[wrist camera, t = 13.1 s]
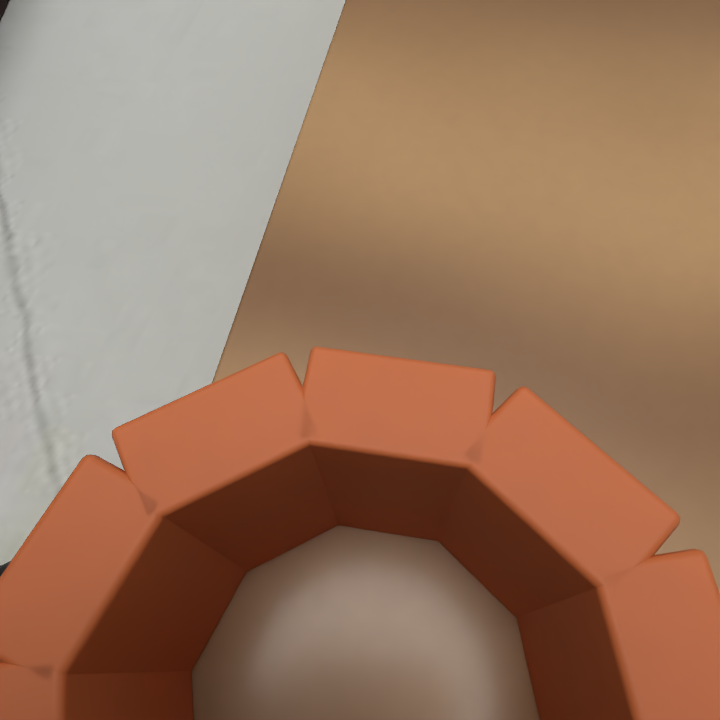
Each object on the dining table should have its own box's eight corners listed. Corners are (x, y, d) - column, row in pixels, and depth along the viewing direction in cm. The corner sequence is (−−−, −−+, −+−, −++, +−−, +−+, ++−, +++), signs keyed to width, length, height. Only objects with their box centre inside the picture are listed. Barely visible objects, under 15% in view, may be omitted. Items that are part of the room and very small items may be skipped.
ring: (618, 1089, 7) (845, 1504, 4) (41, 952, 8) (-249, 1191, 4) (624, 500, 10) (763, 404, 6) (185, 434, 11) (77, 312, 7)
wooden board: (741, 1126, 10) (941, 1386, 6) (111, 920, 11) (-21, 1039, 8) (757, -234, 24) (823, -395, 20) (474, -257, 25) (489, -412, 22)
